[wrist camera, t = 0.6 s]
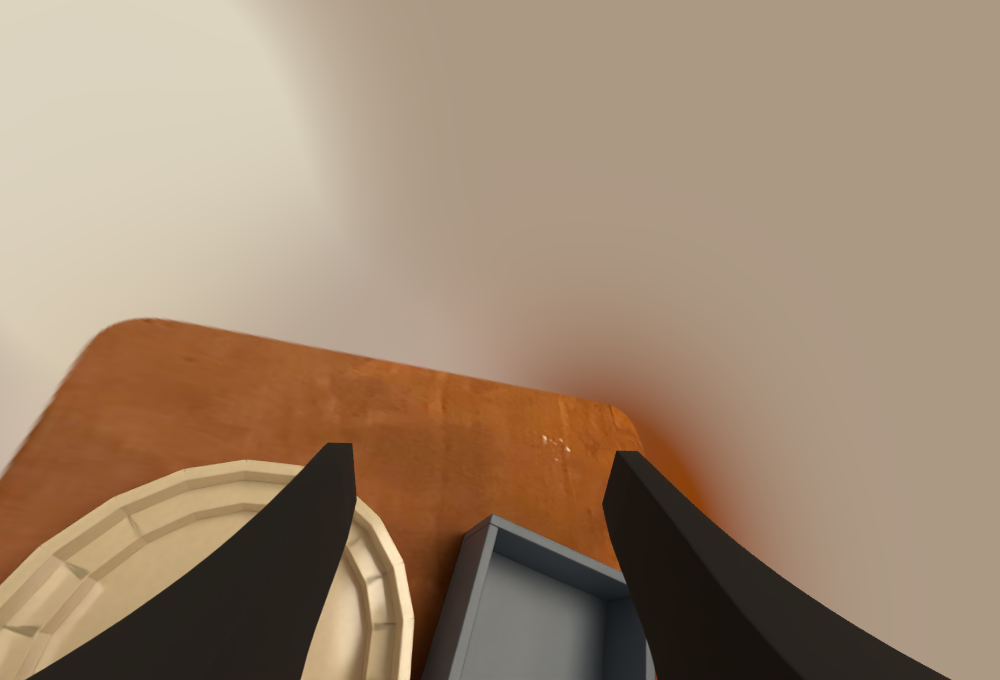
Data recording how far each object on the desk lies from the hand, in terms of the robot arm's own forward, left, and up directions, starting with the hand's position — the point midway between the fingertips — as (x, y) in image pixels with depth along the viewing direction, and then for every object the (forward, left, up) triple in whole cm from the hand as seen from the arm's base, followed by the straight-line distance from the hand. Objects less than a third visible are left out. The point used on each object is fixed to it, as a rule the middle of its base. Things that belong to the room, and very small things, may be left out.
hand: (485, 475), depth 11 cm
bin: (-1, -10, -17) cm, 20 cm away
